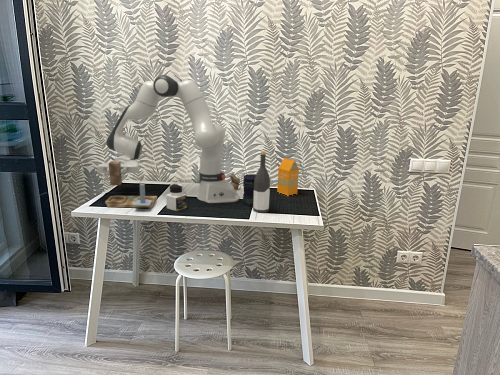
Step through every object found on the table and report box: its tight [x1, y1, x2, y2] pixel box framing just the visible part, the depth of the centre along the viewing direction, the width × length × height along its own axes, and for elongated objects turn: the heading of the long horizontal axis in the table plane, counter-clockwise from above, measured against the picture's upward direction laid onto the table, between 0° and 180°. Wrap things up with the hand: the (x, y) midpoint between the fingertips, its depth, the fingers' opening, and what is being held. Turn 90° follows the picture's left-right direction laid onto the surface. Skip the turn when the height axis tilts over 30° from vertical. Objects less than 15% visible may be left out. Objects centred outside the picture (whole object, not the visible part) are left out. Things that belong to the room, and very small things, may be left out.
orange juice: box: [276, 157, 300, 197], centre depth 229 cm, size 8×9×20 cm
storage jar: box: [242, 173, 257, 208], centre depth 210 cm, size 10×10×15 cm
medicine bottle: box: [165, 183, 188, 212], centre depth 202 cm, size 7×7×12 cm
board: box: [104, 195, 158, 209], centre depth 208 cm, size 23×14×3 cm, turn 93°
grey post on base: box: [134, 183, 152, 206], centre depth 198 cm, size 8×8×10 cm
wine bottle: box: [252, 150, 271, 214], centre depth 199 cm, size 8×8×30 cm
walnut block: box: [108, 161, 123, 186], centre depth 202 cm, size 4×4×11 cm
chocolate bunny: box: [229, 172, 241, 191], centre depth 235 cm, size 6×8×10 cm
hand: (114, 171), depth 201 cm, fingers closed on walnut block, 4 cm apart
